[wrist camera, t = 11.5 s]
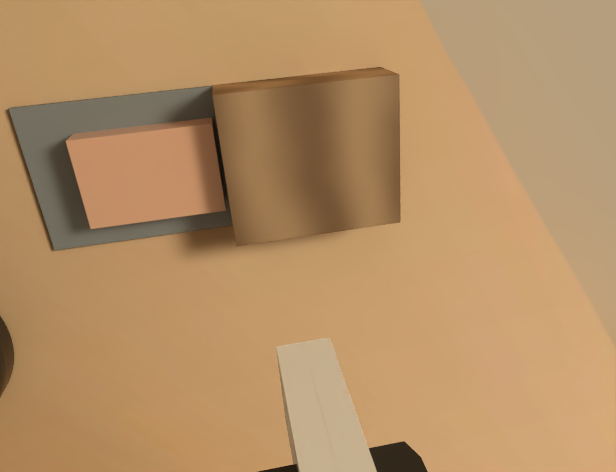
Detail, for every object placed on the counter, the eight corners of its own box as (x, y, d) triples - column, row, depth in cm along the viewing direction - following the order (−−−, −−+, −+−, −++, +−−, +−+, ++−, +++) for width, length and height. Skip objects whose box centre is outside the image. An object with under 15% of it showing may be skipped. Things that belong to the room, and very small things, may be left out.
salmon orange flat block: (96, 217, 36) (90, 229, 35) (73, 133, 34) (65, 140, 32) (225, 200, 37) (225, 210, 36) (212, 117, 35) (211, 123, 33)
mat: (55, 248, 37) (54, 250, 37) (10, 107, 33) (8, 108, 33) (237, 222, 39) (237, 224, 38) (216, 85, 34) (215, 85, 34)
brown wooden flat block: (234, 223, 39) (236, 246, 35) (212, 85, 34) (212, 95, 31) (383, 202, 40) (400, 222, 36) (380, 67, 36) (399, 74, 32)
